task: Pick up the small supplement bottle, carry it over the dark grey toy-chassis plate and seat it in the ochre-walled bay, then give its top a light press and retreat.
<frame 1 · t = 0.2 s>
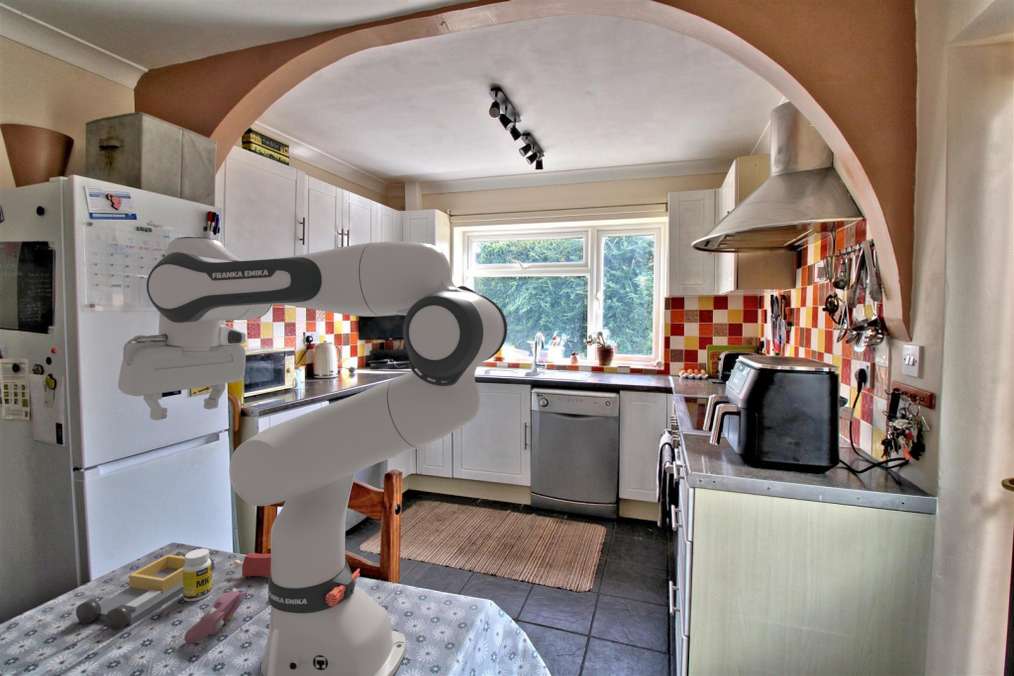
hand: (186, 413, 81), 38 cm above the table, tool pointing down, fingers open, 8 cm apart
video game controller: (218, 628, 84), on the table
meat: (261, 576, 101), on the table
supplement bottle: (197, 595, 93), on the table
chassis: (151, 595, 93), on the table
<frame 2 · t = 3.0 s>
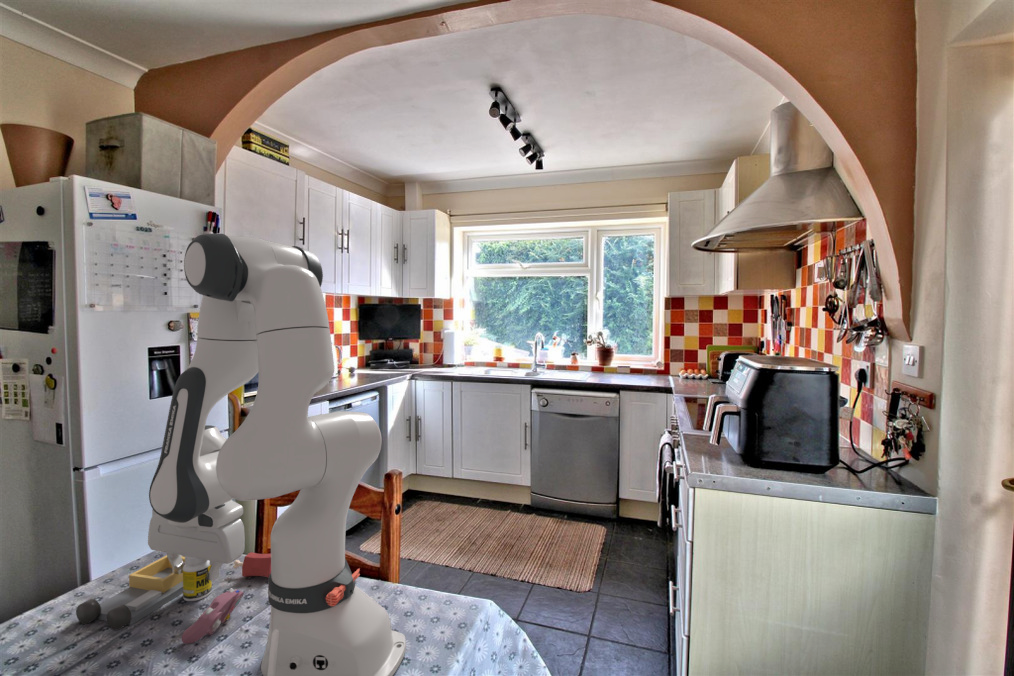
hand: (195, 575, 94), 4 cm above the table, tool pointing down, fingers open, 7 cm apart
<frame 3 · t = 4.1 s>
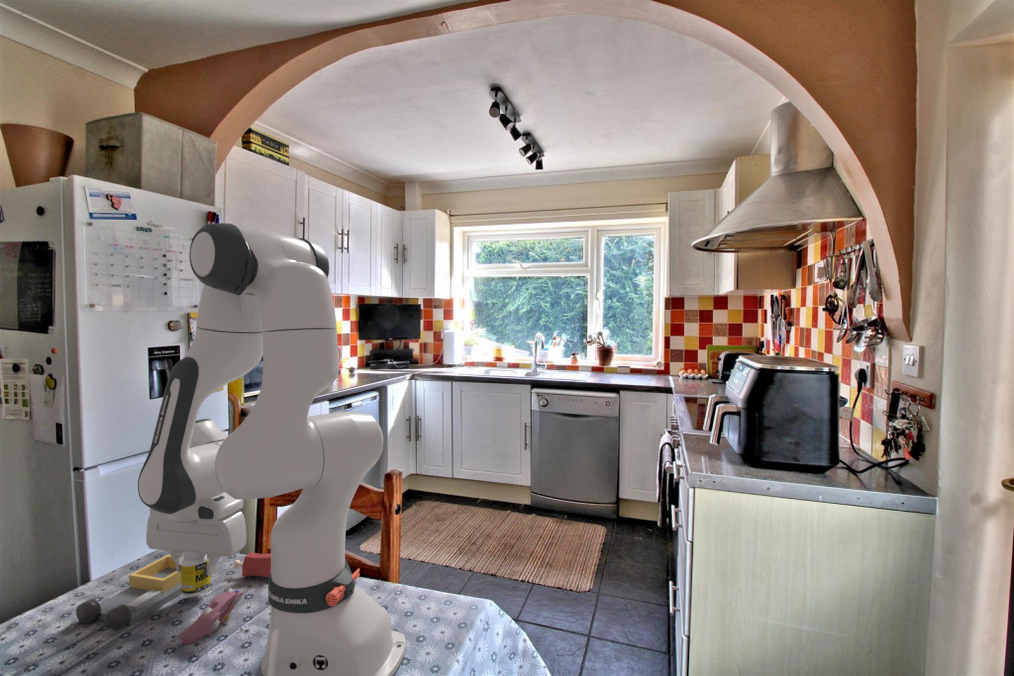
hand: (196, 572, 92), 5 cm above the table, tool pointing down, fingers closed on supplement bottle, 5 cm apart
supplement bottle: (196, 591, 92), point 1 cm above the table, touching gripper
everything else where it was.
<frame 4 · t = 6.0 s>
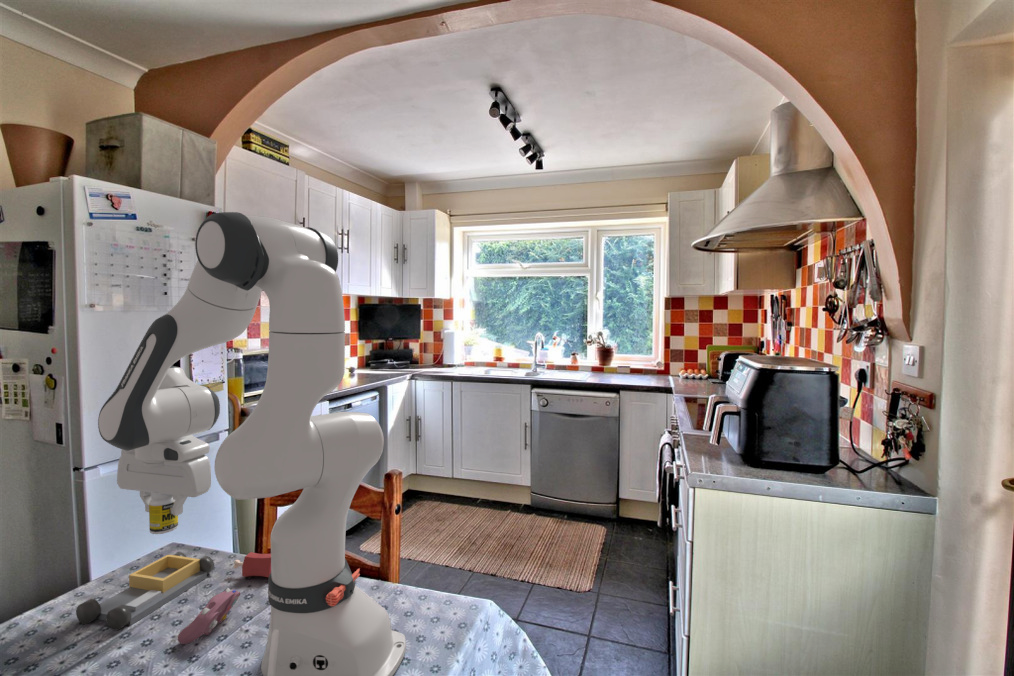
hand: (164, 512, 96), 15 cm above the table, tool pointing down, fingers closed on supplement bottle, 5 cm apart
supplement bottle: (164, 530, 97), point 11 cm above the table, touching gripper
when the fingers open (5 cm above the table, at t = 7.9 s): supplement bottle stays where it is, resting on chassis.
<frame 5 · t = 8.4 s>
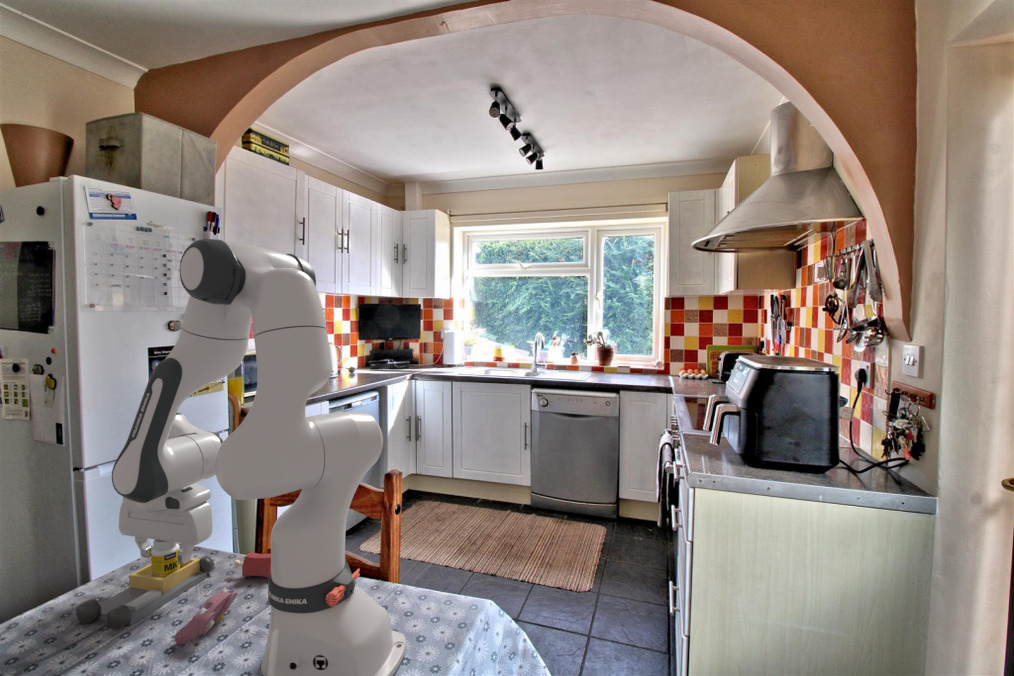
hand: (165, 558, 97), 5 cm above the table, tool pointing down, fingers open, 8 cm apart
supplement bottle: (166, 579, 97), point 1 cm above the table, touching chassis
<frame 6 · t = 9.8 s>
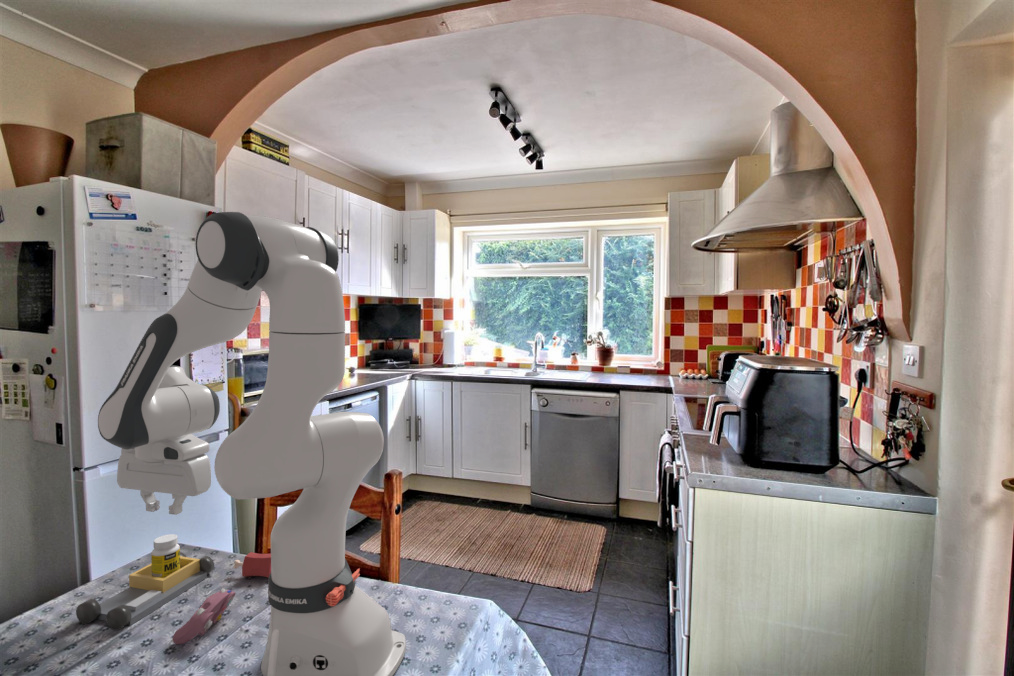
hand: (164, 512, 96), 15 cm above the table, tool pointing down, fingers open, 4 cm apart
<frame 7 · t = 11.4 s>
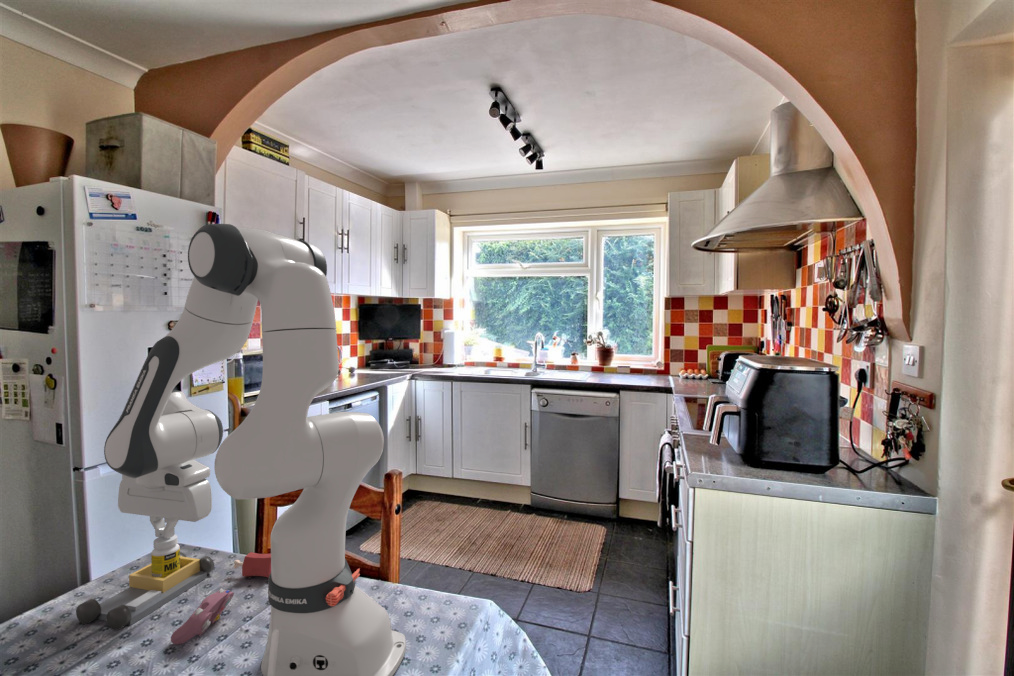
hand: (165, 536, 97), 10 cm above the table, tool pointing down, fingers closed
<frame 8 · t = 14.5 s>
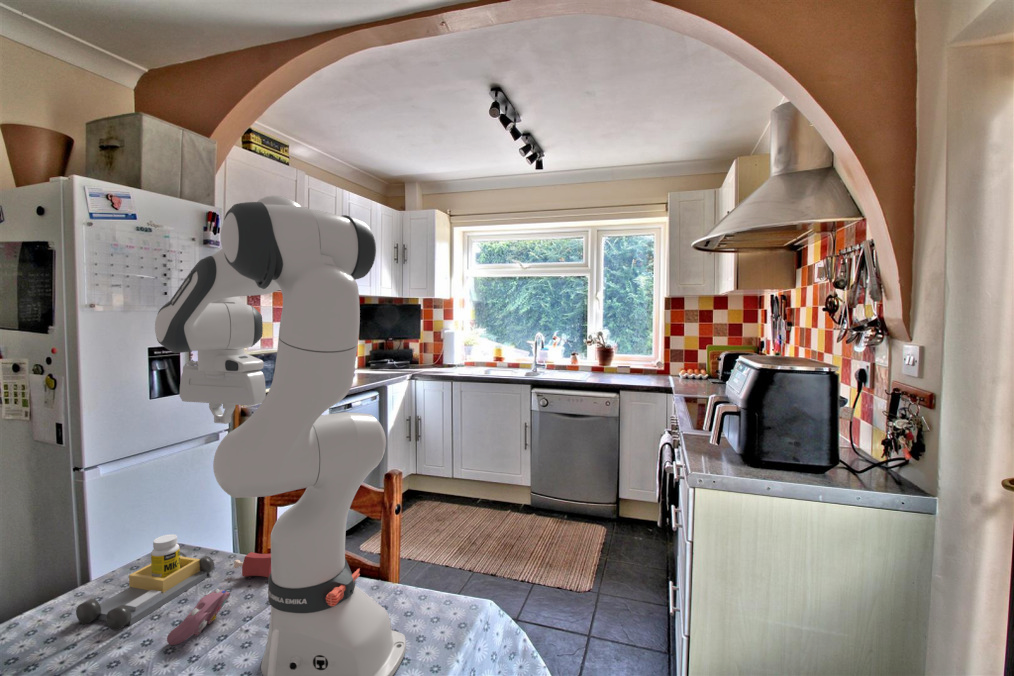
hand: (222, 423, 106), 31 cm above the table, tool pointing down, fingers closed
at the end: supplement bottle 0.1 cm from the target spot on the chassis, point 1.0 cm above the chassis's base; supplement bottle tilted 0°; the gripper is holding nothing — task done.
